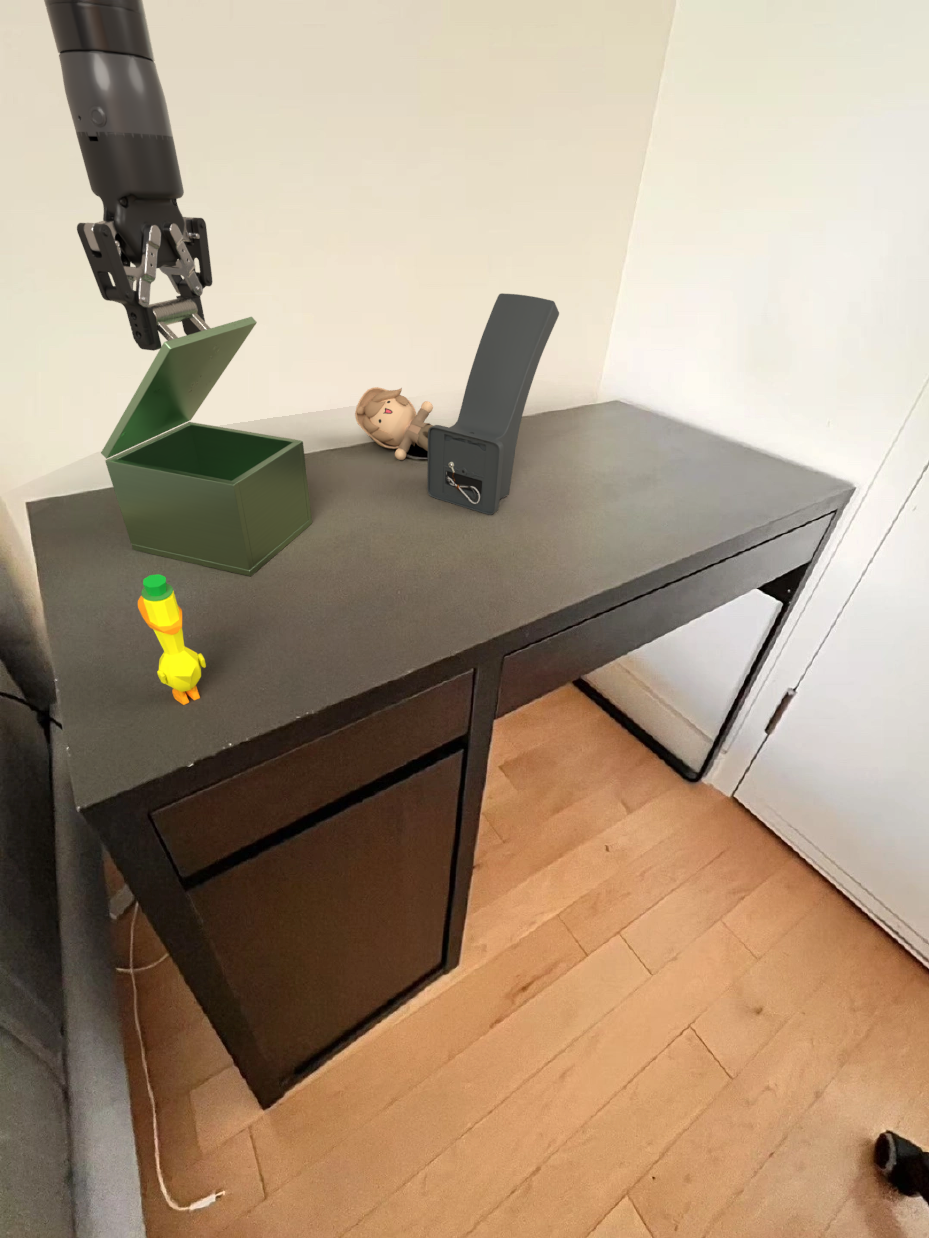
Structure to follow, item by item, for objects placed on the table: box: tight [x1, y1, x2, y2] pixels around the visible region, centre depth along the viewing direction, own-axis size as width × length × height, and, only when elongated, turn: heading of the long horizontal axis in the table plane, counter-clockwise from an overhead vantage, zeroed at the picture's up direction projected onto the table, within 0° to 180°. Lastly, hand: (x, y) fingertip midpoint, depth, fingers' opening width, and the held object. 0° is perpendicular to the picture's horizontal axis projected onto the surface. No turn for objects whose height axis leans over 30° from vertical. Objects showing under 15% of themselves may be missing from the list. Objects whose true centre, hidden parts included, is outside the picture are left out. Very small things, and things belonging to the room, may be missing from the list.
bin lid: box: [100, 297, 257, 460], centre depth 64 cm, size 17×14×6 cm
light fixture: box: [426, 293, 560, 516], centre depth 83 cm, size 11×17×24 cm, turn 149°
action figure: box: [354, 386, 434, 461], centre depth 97 cm, size 10×11×15 cm
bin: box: [104, 421, 313, 577], centre depth 71 cm, size 16×14×11 cm
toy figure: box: [137, 573, 207, 706], centre depth 49 cm, size 7×4×12 cm, turn 42°
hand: (173, 341), depth 62 cm, fingers closed on bin lid, 6 cm apart
